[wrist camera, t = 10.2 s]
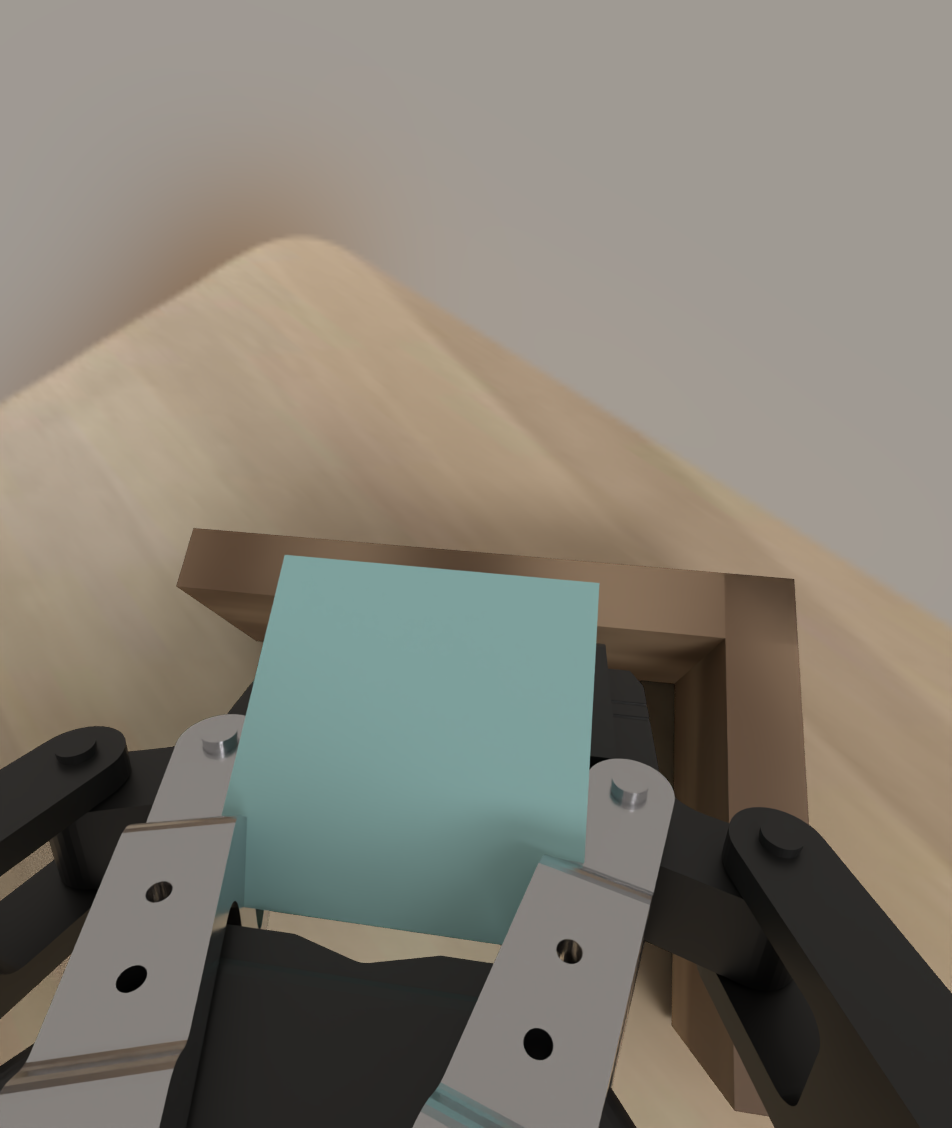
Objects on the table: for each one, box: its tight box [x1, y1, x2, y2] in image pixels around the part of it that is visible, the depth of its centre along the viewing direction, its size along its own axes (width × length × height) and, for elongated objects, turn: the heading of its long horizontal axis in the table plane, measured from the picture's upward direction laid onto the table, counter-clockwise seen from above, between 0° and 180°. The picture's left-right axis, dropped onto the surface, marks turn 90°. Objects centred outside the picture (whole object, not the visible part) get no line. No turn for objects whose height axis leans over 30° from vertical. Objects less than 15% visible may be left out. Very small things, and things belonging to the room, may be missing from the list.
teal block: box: [222, 555, 599, 945], centre depth 13 cm, size 4×4×9 cm
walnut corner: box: [176, 528, 809, 1116], centre depth 16 cm, size 14×10×5 cm
